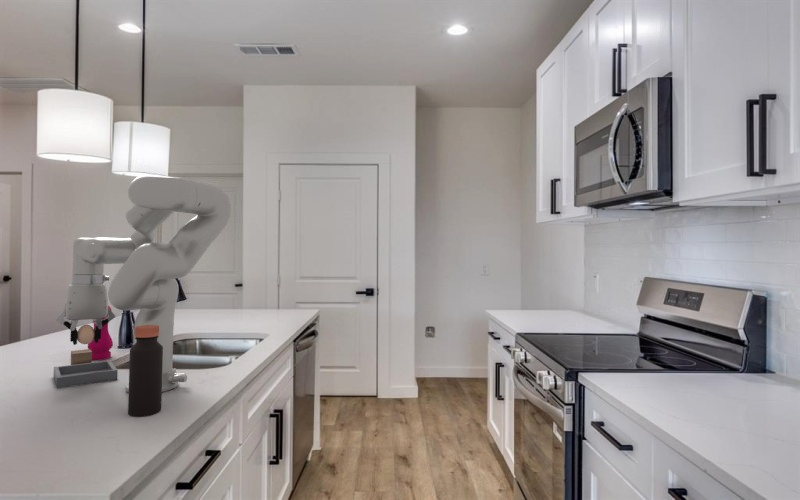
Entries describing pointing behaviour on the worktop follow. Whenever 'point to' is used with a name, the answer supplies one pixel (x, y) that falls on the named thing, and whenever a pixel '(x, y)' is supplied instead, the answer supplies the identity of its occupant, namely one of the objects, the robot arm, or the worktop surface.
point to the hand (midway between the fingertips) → (85, 342)
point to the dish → (84, 374)
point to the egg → (85, 334)
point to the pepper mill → (101, 343)
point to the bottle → (145, 372)
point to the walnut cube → (81, 356)
